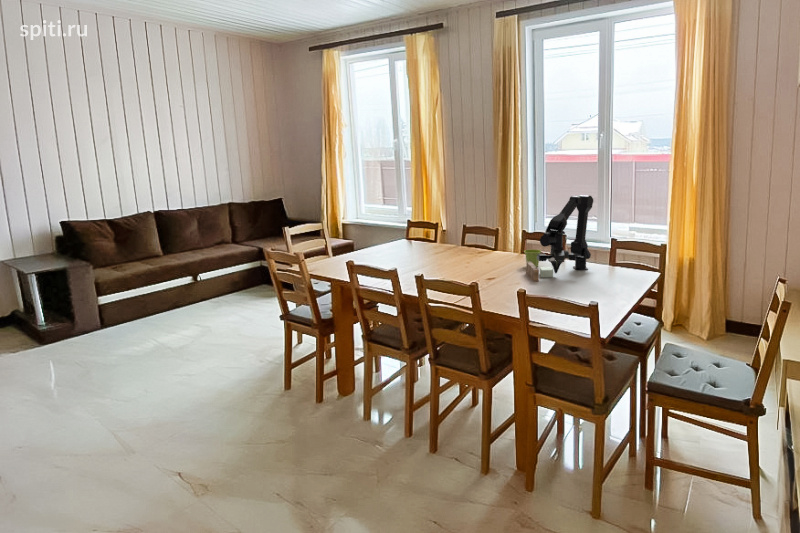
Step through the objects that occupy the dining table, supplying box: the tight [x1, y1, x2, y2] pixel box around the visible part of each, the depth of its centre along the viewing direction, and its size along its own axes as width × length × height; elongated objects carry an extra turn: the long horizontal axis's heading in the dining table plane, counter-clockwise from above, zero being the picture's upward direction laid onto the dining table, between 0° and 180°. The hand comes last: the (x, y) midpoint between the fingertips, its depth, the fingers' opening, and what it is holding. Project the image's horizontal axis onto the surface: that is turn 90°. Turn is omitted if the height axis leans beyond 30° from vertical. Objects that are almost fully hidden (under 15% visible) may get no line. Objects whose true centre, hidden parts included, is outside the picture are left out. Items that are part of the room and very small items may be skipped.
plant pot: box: [523, 249, 542, 268], centre depth 317 cm, size 9×9×9 cm
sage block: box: [539, 266, 554, 278], centre depth 298 cm, size 7×6×4 cm
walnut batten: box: [526, 262, 540, 282], centre depth 295 cm, size 18×2×6 cm, turn 179°
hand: (555, 273), depth 295 cm, fingers closed
